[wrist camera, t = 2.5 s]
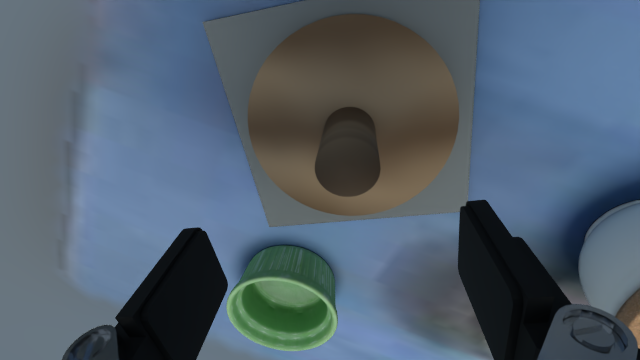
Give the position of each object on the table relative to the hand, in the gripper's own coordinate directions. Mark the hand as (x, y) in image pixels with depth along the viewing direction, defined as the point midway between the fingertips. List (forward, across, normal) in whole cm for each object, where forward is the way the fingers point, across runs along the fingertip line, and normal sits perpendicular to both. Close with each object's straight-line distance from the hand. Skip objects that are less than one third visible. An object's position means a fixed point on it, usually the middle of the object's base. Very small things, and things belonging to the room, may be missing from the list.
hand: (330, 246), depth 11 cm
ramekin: (+12, +6, +13) cm, 19 cm away
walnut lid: (+11, -1, -1) cm, 11 cm away
